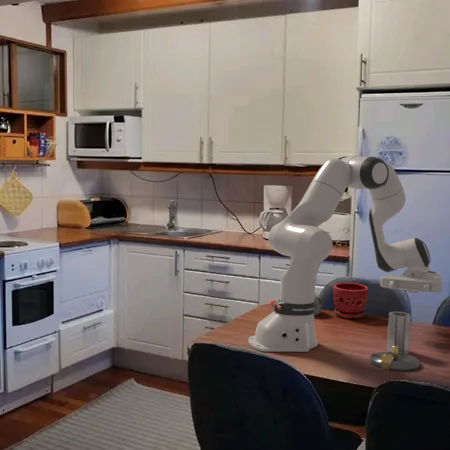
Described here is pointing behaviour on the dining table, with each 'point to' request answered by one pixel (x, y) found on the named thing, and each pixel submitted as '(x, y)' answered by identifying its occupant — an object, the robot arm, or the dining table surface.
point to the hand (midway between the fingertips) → (407, 288)
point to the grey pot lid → (394, 360)
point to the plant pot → (350, 299)
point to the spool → (317, 304)
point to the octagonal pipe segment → (399, 331)
